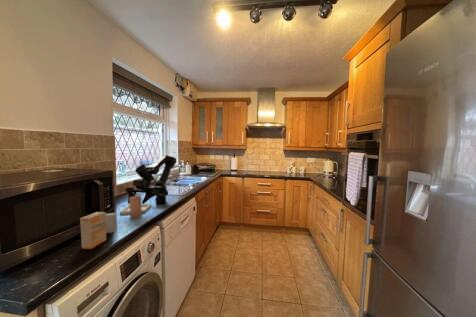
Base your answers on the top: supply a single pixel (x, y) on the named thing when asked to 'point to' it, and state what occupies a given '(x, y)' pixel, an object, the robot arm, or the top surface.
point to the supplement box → (93, 230)
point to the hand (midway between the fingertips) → (135, 203)
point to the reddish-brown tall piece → (135, 207)
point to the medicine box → (111, 222)
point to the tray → (143, 208)
